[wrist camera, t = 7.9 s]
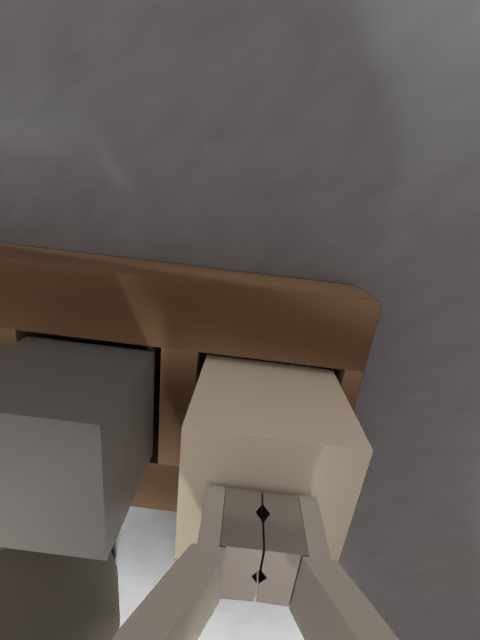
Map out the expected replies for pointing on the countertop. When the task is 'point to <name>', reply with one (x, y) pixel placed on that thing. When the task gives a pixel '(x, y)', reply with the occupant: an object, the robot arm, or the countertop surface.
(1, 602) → the cup
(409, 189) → the countertop surface
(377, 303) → the wooden tray
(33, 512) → the graphite key
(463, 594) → the countertop surface
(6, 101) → the countertop surface
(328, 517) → the ivory key
